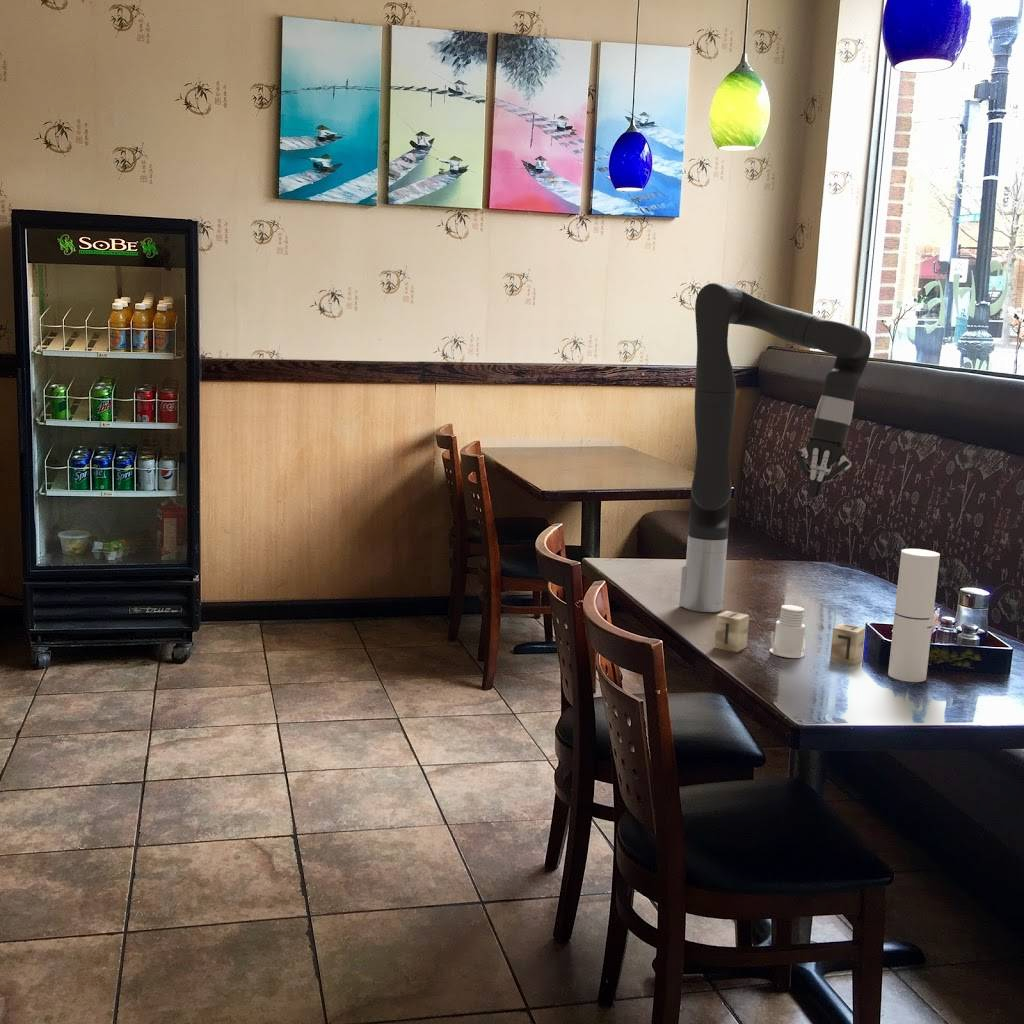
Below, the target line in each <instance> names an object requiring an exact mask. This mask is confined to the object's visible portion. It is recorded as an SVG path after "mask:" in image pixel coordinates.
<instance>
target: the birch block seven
mask: <svg viewBox="0 0 1024 1024" xmlns="http://www.w3.org/2000/svg"><path fill="white" fill-rule="evenodd" d="M865 633H866V627H863V626H860V625H859V626H858V625H855V624H849V623H842V622H841V623H839V624H837V625H835V626H834V627H832V636H831V637H832V638H831V645H830V656H829V657H830V658H829V661H830V662H834V663H839V664H843V665H847V666H853V667H854V666H856V665H857V664H860V663H861V662H862V661H863V656H864V655H863V654H864V646H865V645H864V643H865V636H866V634H865Z"/></svg>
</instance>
